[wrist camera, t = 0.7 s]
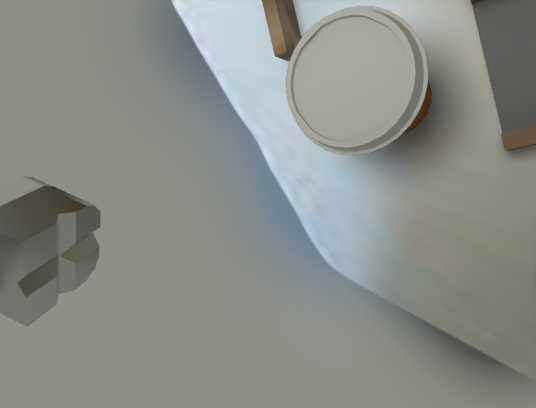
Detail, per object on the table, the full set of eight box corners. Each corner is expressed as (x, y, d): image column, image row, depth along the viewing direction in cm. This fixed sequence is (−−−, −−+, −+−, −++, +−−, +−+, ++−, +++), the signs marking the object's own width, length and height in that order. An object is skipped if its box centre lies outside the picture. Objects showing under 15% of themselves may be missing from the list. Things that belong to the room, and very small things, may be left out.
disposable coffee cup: (414, 173, 39) (374, 181, 29) (323, 123, 43) (258, 115, 32) (476, 67, 36) (456, 34, 26) (372, 23, 40) (317, -22, 29)
